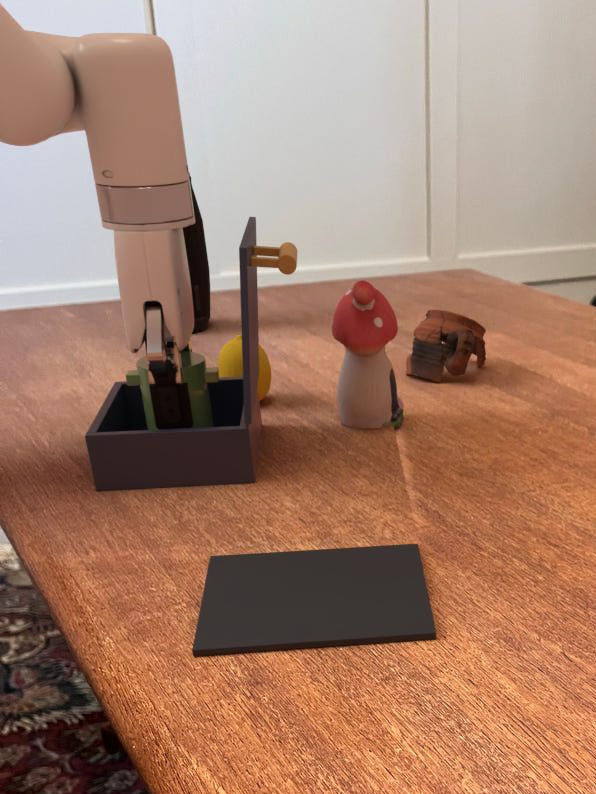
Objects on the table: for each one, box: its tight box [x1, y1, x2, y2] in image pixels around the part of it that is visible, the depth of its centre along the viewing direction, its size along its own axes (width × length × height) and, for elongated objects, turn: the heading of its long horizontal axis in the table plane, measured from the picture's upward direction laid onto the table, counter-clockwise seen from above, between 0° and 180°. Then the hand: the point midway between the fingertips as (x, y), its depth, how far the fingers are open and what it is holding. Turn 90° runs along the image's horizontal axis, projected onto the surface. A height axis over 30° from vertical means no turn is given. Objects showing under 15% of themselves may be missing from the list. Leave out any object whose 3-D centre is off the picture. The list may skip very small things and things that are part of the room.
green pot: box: [125, 351, 220, 430], centre depth 93 cm, size 8×6×9 cm
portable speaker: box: [183, 170, 211, 334], centre depth 135 cm, size 9×9×20 cm
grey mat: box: [191, 543, 437, 657], centre depth 73 cm, size 16×14×1 cm
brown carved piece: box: [405, 309, 487, 383], centre depth 120 cm, size 12×10×8 cm
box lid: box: [238, 216, 298, 424], centre depth 90 cm, size 14×16×4 cm
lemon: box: [217, 333, 272, 402], centre depth 108 cm, size 6×6×8 cm
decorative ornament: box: [330, 280, 405, 430], centre depth 101 cm, size 9×6×15 cm
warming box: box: [84, 377, 263, 492], centre depth 94 cm, size 14×16×6 cm
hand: (179, 414), depth 93 cm, fingers closed on green pot, 6 cm apart
